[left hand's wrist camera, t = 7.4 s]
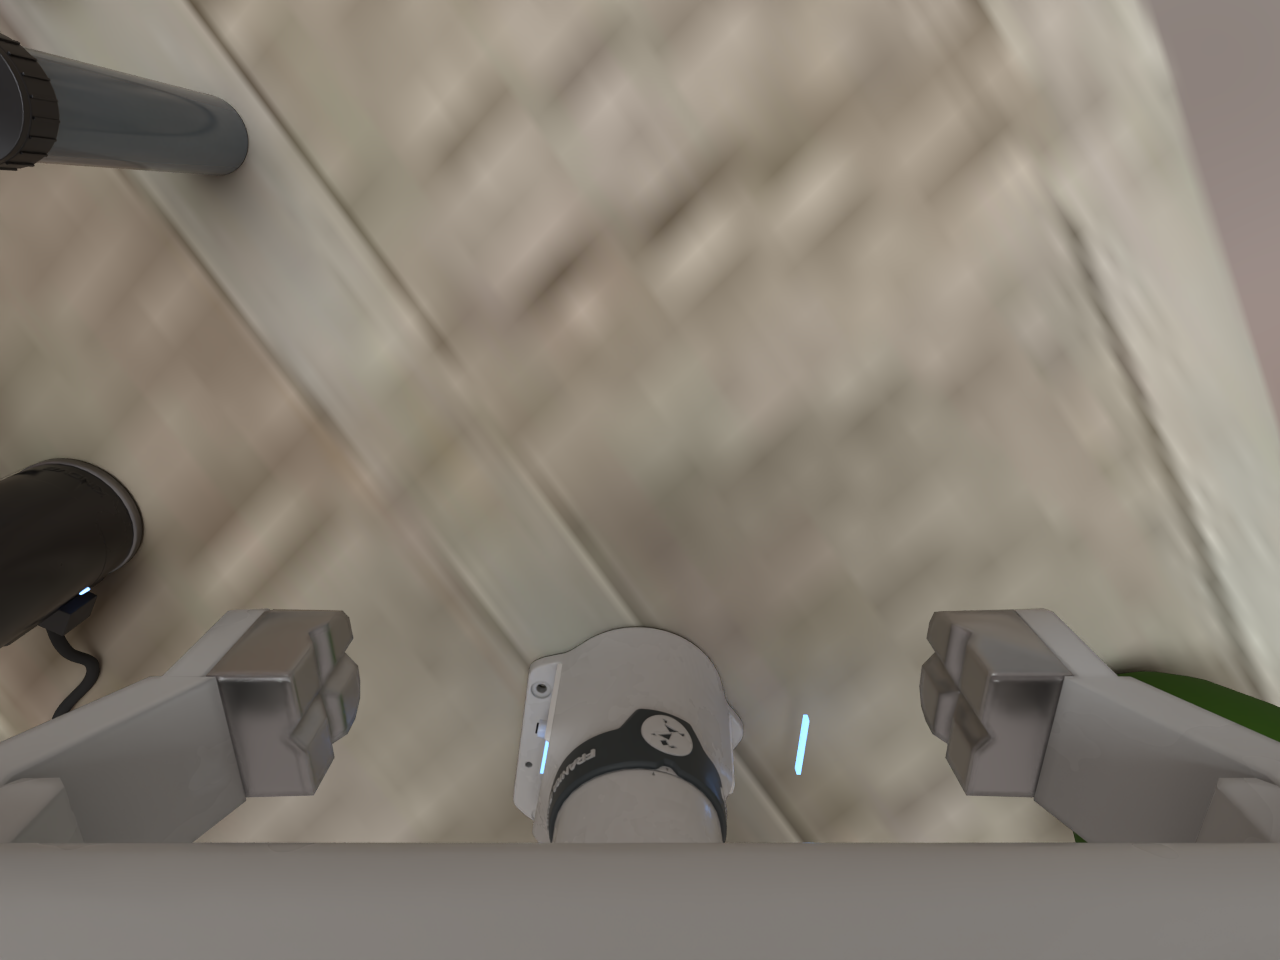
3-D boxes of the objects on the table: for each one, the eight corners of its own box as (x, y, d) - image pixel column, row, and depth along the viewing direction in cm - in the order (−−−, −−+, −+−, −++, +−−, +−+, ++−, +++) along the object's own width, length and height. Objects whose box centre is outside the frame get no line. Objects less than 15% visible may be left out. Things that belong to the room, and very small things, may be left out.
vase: (1269, 729, 62) (1631, 1030, 40) (1060, 836, 67) (1280, 1164, 44) (1177, 567, 57) (1536, 809, 34) (956, 695, 61) (1144, 985, 38)
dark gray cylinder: (188, 180, 47) (-64, 166, 30) (162, 100, 46) (-121, 38, 29) (258, 169, 47) (43, 149, 30) (234, 88, 45) (-8, 19, 28)
